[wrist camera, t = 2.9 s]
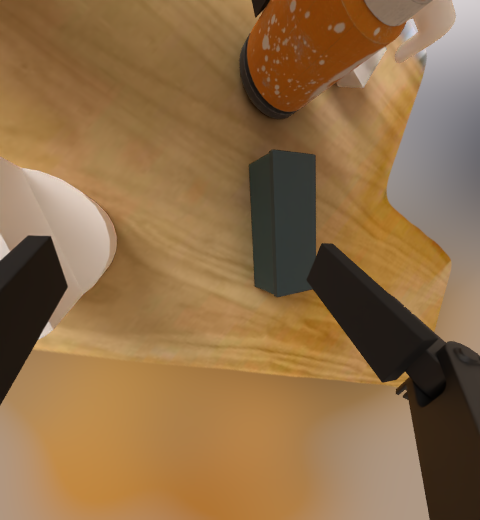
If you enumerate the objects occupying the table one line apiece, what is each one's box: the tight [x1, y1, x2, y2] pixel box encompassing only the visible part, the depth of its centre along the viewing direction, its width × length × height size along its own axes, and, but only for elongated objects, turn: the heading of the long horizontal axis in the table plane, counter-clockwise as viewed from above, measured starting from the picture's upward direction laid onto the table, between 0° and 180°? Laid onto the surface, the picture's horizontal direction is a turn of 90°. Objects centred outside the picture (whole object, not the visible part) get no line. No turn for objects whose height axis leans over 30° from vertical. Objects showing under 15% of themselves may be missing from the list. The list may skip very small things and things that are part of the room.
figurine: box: [336, 0, 456, 88], centre depth 24 cm, size 7×9×15 cm
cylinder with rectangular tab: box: [0, 156, 117, 339], centre depth 14 cm, size 9×9×12 cm
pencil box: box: [249, 150, 316, 297], centre depth 26 cm, size 15×6×5 cm, turn 4°
